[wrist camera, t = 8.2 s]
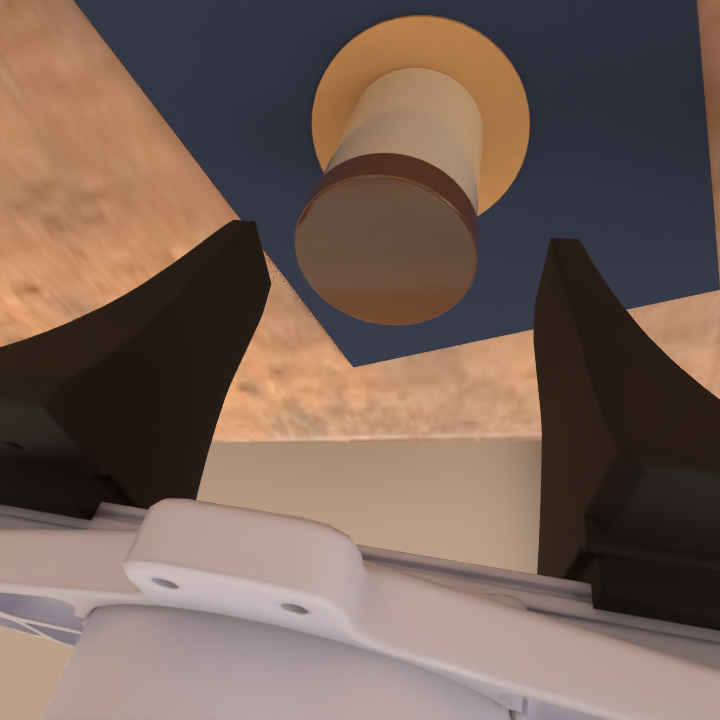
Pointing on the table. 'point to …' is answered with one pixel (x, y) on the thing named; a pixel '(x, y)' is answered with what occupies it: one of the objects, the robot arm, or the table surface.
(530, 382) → the table surface
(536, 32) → the desk pad
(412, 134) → the jar
